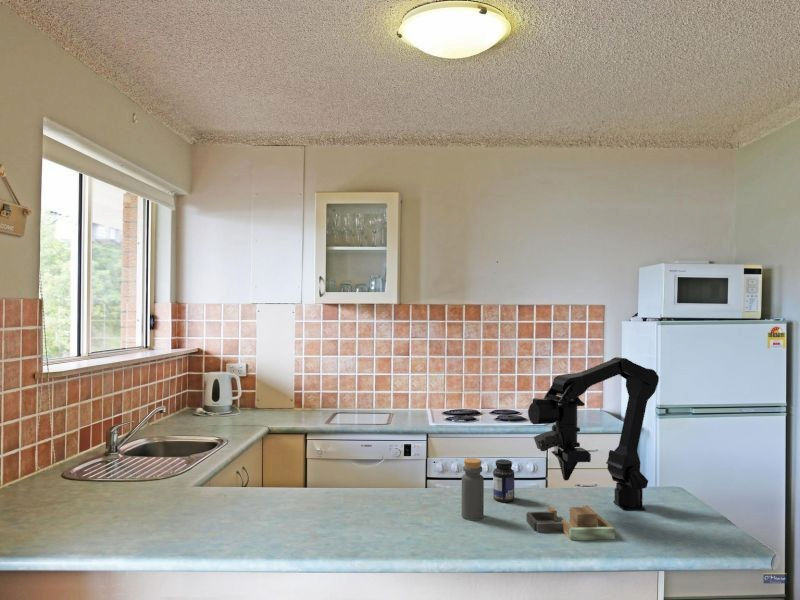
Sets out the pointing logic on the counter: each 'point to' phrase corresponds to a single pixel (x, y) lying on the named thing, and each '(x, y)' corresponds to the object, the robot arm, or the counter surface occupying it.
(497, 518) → the counter surface
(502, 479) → the pill bottle
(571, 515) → the walnut block
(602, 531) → the channel
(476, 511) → the bottle
